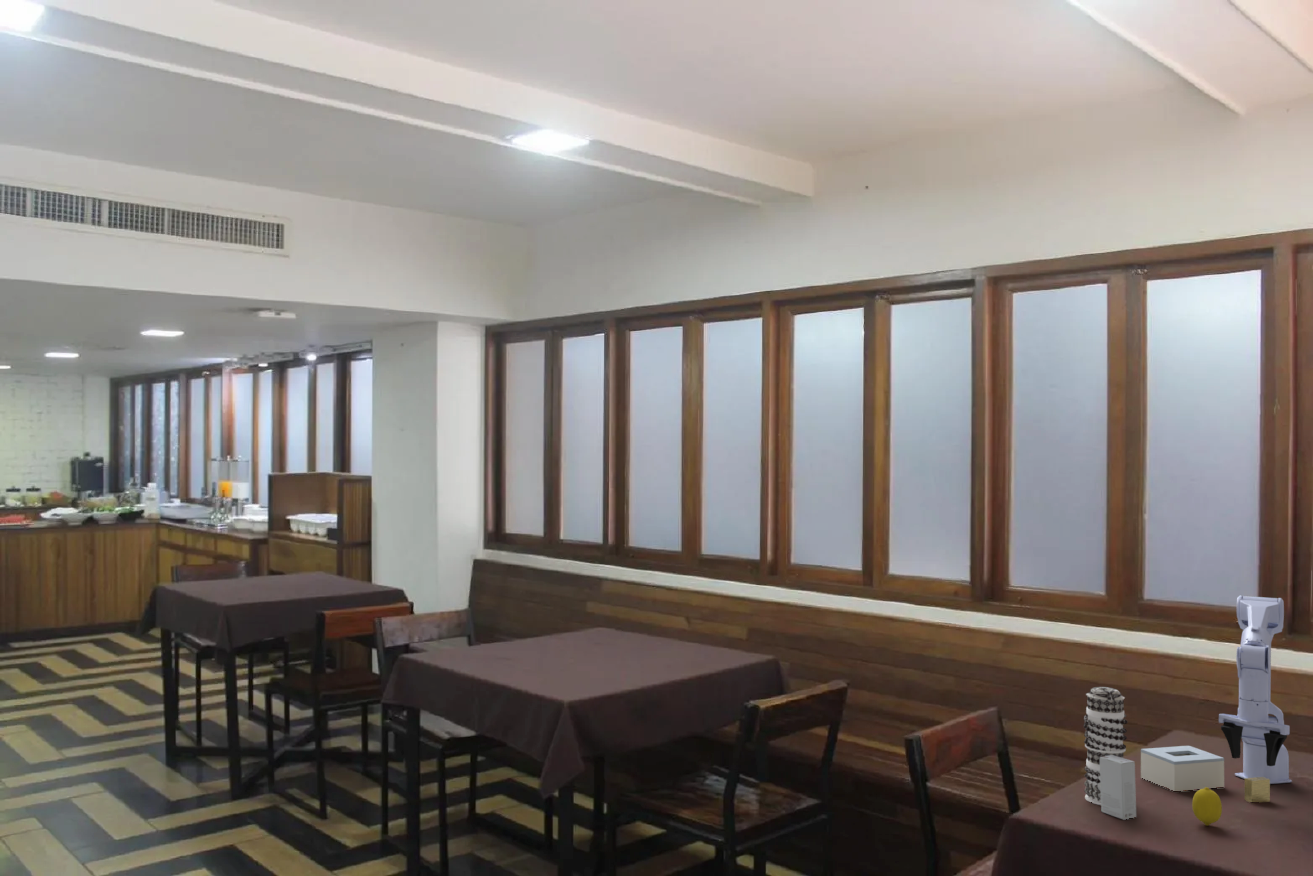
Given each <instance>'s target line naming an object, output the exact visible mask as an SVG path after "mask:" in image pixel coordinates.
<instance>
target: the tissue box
mask: <svg viewBox="0 0 1313 876" xmlns="http://www.w3.org/2000/svg"><path fill="white" fill-rule="evenodd" d="M1142 778H1143V779H1142ZM1140 779H1142V780H1144V779H1145V780H1144V781H1147V780H1148V781H1147V782H1149V781H1151V782H1150V783H1152V782H1153V783H1152V784H1154V783H1155V784H1154V785H1156V784H1158V785H1157V786H1159V785H1160V786H1159V787H1161V786H1164V787H1167V788H1169V789H1170V790H1169V791H1171V790H1173V791H1181V792H1184V791H1183V790H1193V791H1195V790H1194V789H1204V788H1205V787H1208V788H1216V787H1224V788H1225V758H1224V757H1222V756H1219V755H1217V754H1214V753H1211V752H1208V751H1206V750H1203V749H1200V748H1197V747H1194V746H1191V745H1179V746H1178V745H1177V746H1163V747H1153V748H1152V747H1149V748H1141V749H1140ZM1164 787H1163V788H1164ZM1173 791H1172V792H1173Z"/></svg>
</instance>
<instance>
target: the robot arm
mask: <svg viewBox="0 0 1313 876" xmlns="http://www.w3.org/2000/svg"><path fill="white" fill-rule="evenodd" d="M1284 605H1285V603H1284V600H1283V598H1282V597H1278V598H1277V597H1263V596H1250V595H1249V596H1248V595H1247V596H1246V595H1242V594H1240V595H1239V596H1237V598H1236V618H1237V623H1238V625H1239V628H1240V629H1241V630H1242V632H1241V639H1240V646H1237V647H1236V654H1235V655H1236V656H1235V657H1236V661H1235V662H1236V668H1237V678H1238V707H1237V715H1235V714H1228V713H1219V714H1218V723H1219V724H1223V725H1220V730H1221V731H1222V733H1223V734H1224V736H1225V739H1226V741H1227V744H1228V747H1229V750H1230V753H1231V758H1233V759H1240V758H1241V748H1242V747H1243V749H1242V750H1243V751H1242V754H1243V755H1242V758H1243V759H1242V764H1243V765H1242V766H1243V767H1242V771H1243V772H1235V773H1234V776H1236V777H1238V778H1241V779H1244V780H1245V778H1254V777H1264V778H1267V779H1270V785H1273V784H1274V785H1275V784H1286V783H1292V782H1293V781H1292V779H1290V768H1289V766H1290V765H1289V764H1290V763H1289V762H1290V757H1289V751H1288V750H1287V748H1286V746H1285V745H1284V743H1285V741H1286V740H1287V737H1288V736H1289V735H1290V732H1291V731H1290V729H1291V728H1290V725H1288V724H1285V720H1284V713H1283V711H1282V709H1280V708H1279V707H1278V706H1277V705H1275V703H1273V702H1272V701H1271V699H1272V698H1271V693H1272V692H1271V690H1272V689H1271V684H1272V682H1271V680H1272V679H1271V677H1272V667H1271V666H1272V665H1271V664H1272V663H1271V662H1272V641H1273V638H1274V635H1275V634H1279V633H1282V632H1283V629H1284V620H1285V619H1284V618H1285V617H1284V616H1285V606H1284ZM1241 743H1242V744H1243V745H1242V747H1241Z"/></svg>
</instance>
